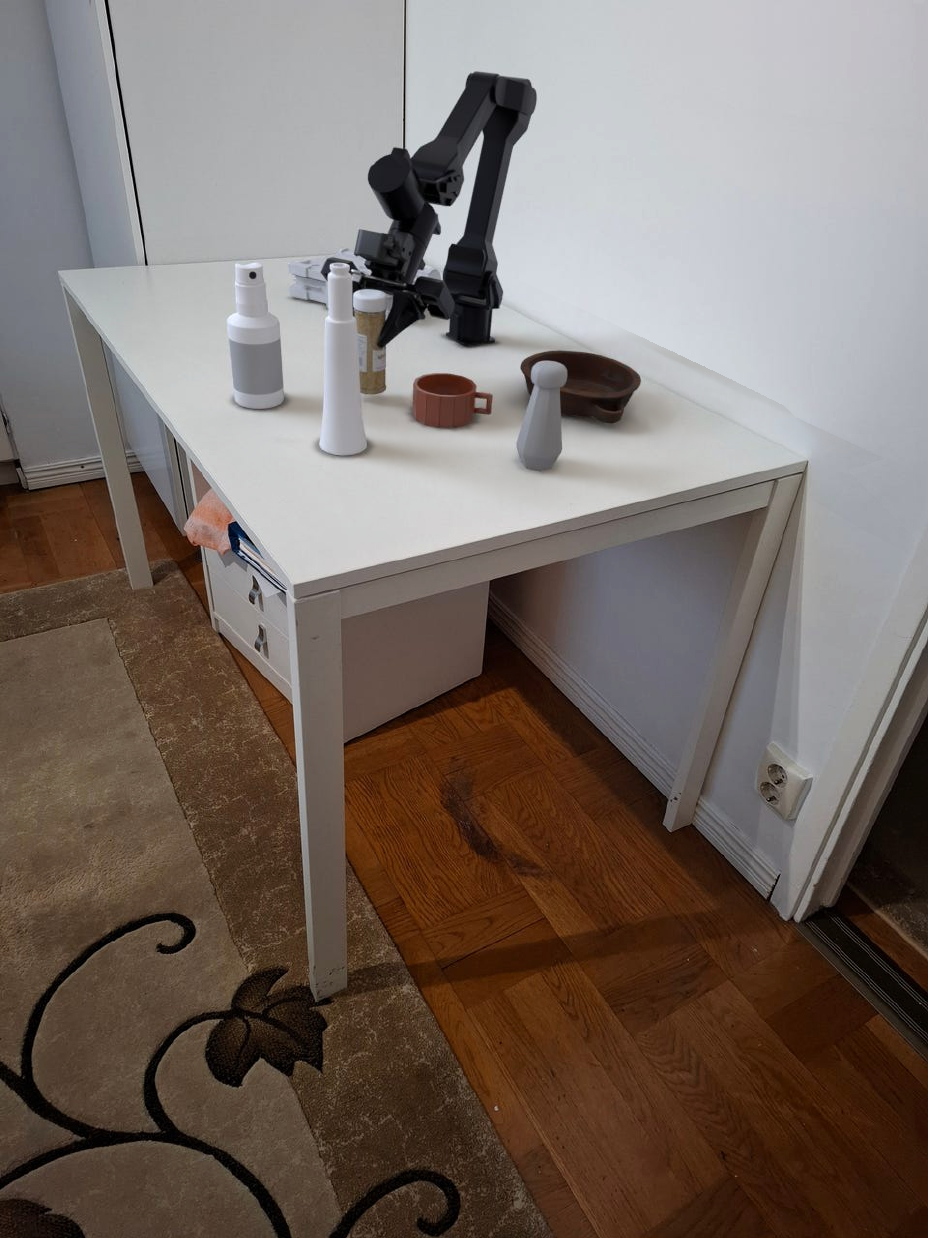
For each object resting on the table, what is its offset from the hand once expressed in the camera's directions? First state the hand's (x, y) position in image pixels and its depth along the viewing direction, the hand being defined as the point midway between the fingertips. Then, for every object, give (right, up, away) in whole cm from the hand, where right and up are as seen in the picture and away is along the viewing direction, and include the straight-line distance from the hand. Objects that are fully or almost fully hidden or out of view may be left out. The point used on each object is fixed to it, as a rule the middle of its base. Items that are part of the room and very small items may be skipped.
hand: (364, 343), depth 113 cm
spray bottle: (-15, -7, +3) cm, 17 cm away
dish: (+30, -6, +10) cm, 32 cm away
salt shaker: (+23, -18, -7) cm, 30 cm away
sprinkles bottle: (0, -5, +5) cm, 7 cm away
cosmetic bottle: (-2, -16, -7) cm, 17 cm away
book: (-7, +23, +45) cm, 51 cm away
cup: (+12, -9, +3) cm, 15 cm away
